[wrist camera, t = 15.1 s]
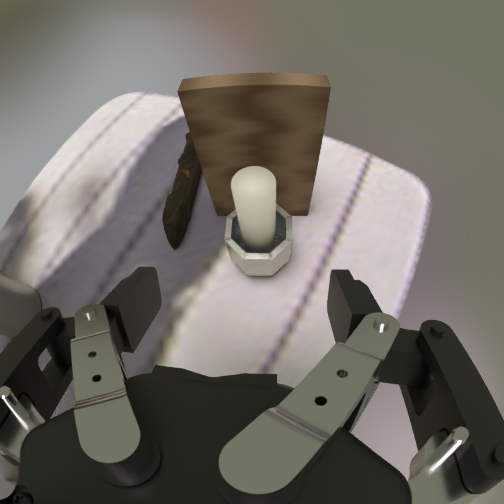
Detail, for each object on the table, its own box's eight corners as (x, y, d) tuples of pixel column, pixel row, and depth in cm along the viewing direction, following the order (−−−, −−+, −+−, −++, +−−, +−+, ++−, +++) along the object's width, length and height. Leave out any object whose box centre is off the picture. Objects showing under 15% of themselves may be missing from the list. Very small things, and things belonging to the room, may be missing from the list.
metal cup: (230, 275, 32) (223, 258, 27) (235, 207, 35) (229, 183, 31) (289, 276, 31) (292, 259, 27) (288, 207, 35) (290, 183, 30)
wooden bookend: (217, 215, 37) (177, 91, 19) (221, 180, 40) (191, 59, 21) (307, 215, 36) (330, 87, 18) (304, 180, 39) (319, 55, 20)
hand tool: (190, 145, 43) (184, 125, 39) (213, 145, 43) (208, 124, 39) (157, 249, 36) (143, 233, 32) (184, 251, 36) (173, 236, 31)
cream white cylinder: (243, 260, 32) (229, 201, 21) (245, 233, 33) (232, 166, 22) (274, 261, 31) (276, 201, 20) (275, 233, 33) (275, 166, 22)
